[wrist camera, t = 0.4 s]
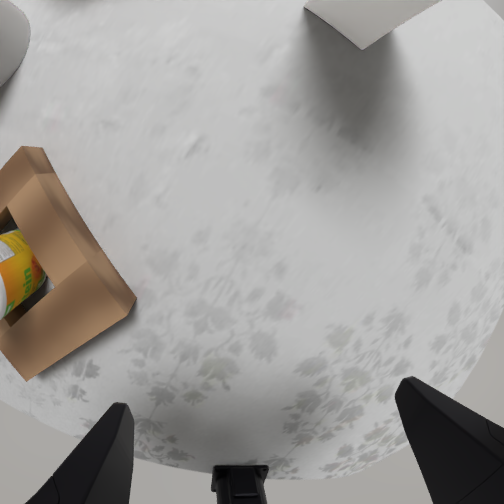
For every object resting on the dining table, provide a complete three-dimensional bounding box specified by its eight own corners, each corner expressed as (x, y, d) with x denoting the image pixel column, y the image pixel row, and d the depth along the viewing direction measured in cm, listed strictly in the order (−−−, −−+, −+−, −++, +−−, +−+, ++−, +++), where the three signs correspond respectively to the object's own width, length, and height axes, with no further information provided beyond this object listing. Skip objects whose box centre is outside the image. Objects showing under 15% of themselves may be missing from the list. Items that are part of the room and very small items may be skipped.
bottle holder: (136, 297, 21) (127, 315, 18) (38, 364, 22) (26, 381, 19) (42, 147, 17) (21, 145, 14) (-39, 246, 18) (-57, 254, 15)
